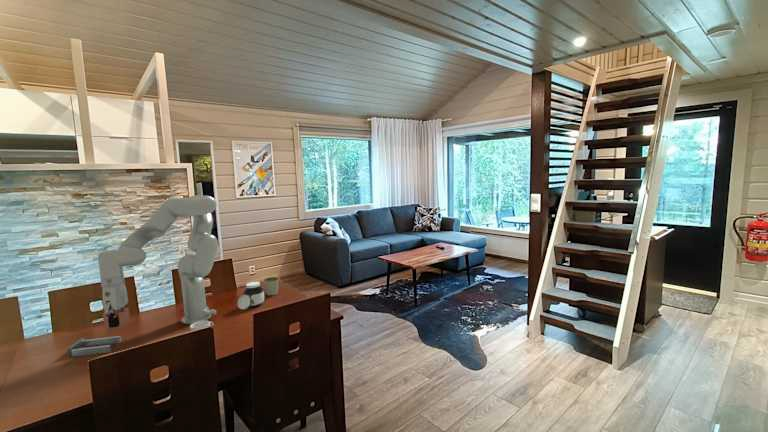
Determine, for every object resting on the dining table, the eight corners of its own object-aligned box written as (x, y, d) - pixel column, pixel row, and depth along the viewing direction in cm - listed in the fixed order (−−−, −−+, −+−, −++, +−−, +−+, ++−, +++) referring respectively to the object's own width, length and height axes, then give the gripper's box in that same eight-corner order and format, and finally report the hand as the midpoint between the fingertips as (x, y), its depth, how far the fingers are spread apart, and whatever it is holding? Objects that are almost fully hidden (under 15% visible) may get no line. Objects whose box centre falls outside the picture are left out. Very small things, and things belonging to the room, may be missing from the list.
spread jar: (266, 301, 194) (264, 280, 192) (259, 309, 182) (258, 287, 181) (243, 302, 193) (242, 281, 192) (236, 310, 182) (234, 288, 180)
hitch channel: (121, 341, 151) (120, 333, 151) (109, 352, 142) (108, 343, 142) (83, 346, 148) (81, 338, 148) (68, 357, 139) (67, 348, 139)
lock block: (130, 321, 149) (128, 307, 149) (124, 326, 144) (122, 312, 144) (110, 323, 148) (109, 309, 147) (104, 328, 143) (102, 314, 142)
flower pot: (260, 296, 202) (259, 281, 201) (268, 290, 212) (267, 276, 210) (275, 296, 201) (274, 282, 200) (283, 291, 210) (282, 277, 209)
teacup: (198, 341, 149) (197, 329, 148) (187, 338, 152) (185, 326, 152) (219, 331, 158) (218, 320, 157) (207, 328, 161) (206, 317, 161)
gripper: (112, 286, 137) (117, 331, 139) (132, 274, 153) (137, 315, 155) (89, 288, 135) (95, 334, 137) (112, 276, 151) (117, 317, 153)
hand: (117, 323), depth 146 cm, fingers closed on lock block, 5 cm apart
